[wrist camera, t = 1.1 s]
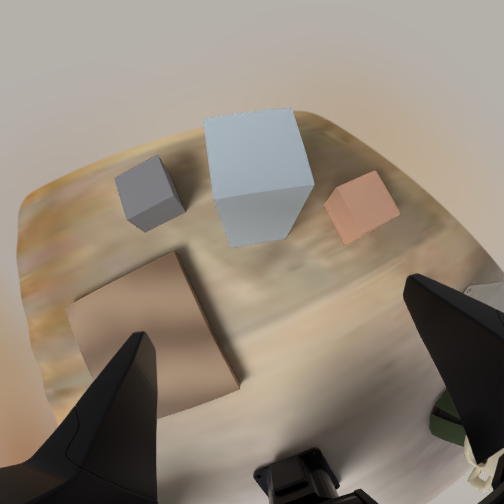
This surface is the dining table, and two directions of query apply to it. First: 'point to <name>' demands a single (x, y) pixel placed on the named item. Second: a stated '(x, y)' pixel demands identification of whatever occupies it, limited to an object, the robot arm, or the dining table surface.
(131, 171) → the charcoal block
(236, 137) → the slate block
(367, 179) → the terracotta block
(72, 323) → the walnut board
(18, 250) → the dining table surface
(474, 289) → the skincare box
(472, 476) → the character mug
